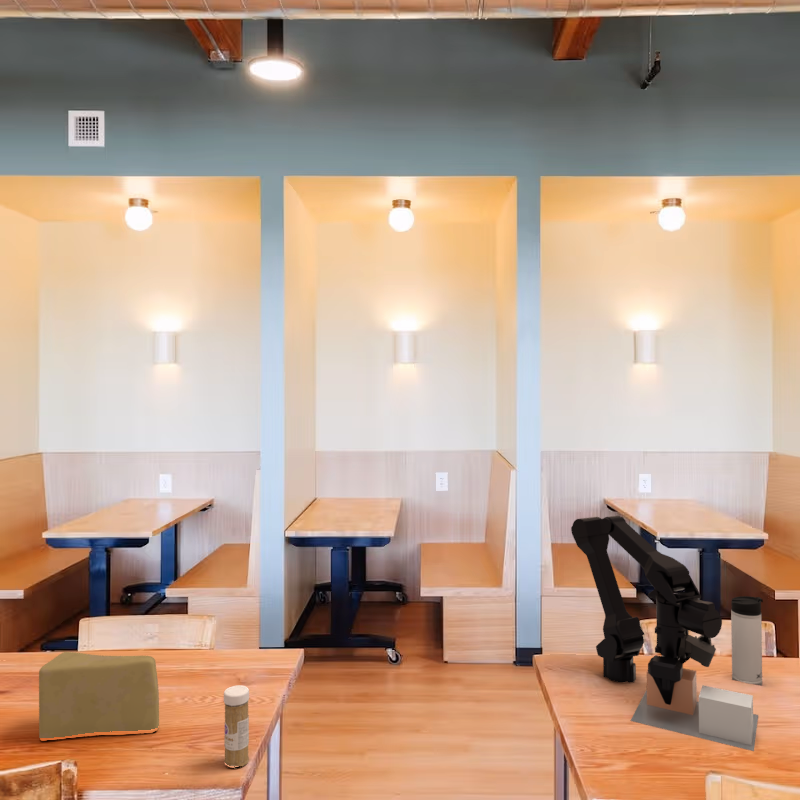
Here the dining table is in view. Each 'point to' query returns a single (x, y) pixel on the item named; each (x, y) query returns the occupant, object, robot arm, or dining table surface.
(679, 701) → the tan block
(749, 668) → the travel mug
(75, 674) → the cheese
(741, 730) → the light grey rectangular block
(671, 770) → the dining table surface
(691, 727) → the slate board
